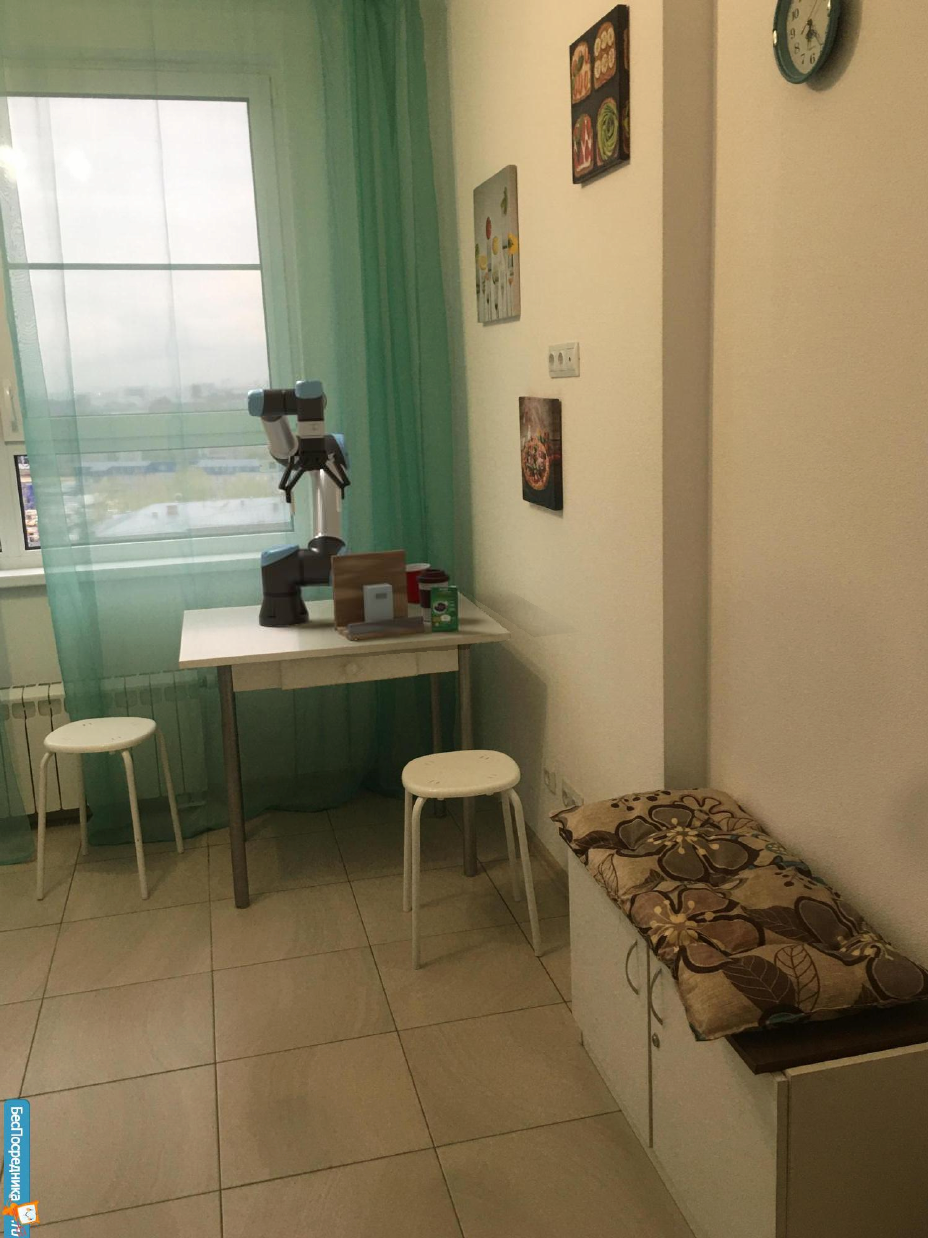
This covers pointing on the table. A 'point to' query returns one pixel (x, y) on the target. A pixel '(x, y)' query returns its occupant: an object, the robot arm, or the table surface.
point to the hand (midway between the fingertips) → (316, 513)
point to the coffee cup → (425, 582)
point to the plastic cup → (414, 581)
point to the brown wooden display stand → (350, 596)
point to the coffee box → (444, 608)
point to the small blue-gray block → (378, 602)
